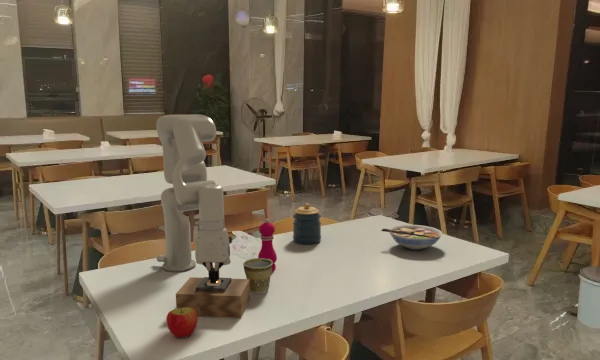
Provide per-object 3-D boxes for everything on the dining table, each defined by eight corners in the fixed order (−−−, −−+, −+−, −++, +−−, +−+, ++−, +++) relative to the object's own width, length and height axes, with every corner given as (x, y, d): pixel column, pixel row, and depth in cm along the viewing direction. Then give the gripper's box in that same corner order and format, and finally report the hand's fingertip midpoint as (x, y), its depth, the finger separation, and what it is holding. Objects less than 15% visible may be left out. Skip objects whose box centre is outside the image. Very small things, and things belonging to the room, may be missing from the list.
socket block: (176, 315, 151) (175, 290, 150) (191, 297, 165) (190, 273, 163) (241, 318, 149) (240, 292, 148) (250, 299, 163) (249, 275, 162)
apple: (161, 339, 136) (159, 305, 135) (179, 326, 144) (177, 293, 142) (186, 344, 133) (185, 309, 132) (203, 331, 141) (202, 297, 140)
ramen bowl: (450, 245, 221) (451, 227, 219) (434, 259, 202) (435, 240, 200) (397, 237, 234) (397, 220, 233) (377, 249, 215) (378, 231, 214)
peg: (206, 308, 155) (205, 283, 154) (209, 302, 159) (209, 278, 158) (219, 308, 155) (219, 284, 153) (223, 302, 159) (222, 279, 158)
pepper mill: (274, 273, 187) (273, 221, 184) (255, 271, 189) (254, 220, 185) (278, 266, 194) (278, 217, 191) (261, 265, 195) (260, 216, 192)
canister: (295, 236, 236) (294, 200, 233) (322, 237, 234) (322, 200, 231) (290, 244, 223) (290, 206, 220) (319, 245, 221) (319, 207, 218)
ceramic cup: (261, 298, 164) (261, 269, 162) (237, 292, 169) (237, 264, 167) (283, 286, 174) (283, 258, 173) (260, 280, 180) (260, 254, 178)
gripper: (184, 227, 149) (187, 285, 152) (233, 228, 148) (234, 287, 151) (192, 221, 157) (194, 276, 160) (238, 222, 155) (240, 278, 158)
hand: (214, 281), depth 155 cm, fingers closed
